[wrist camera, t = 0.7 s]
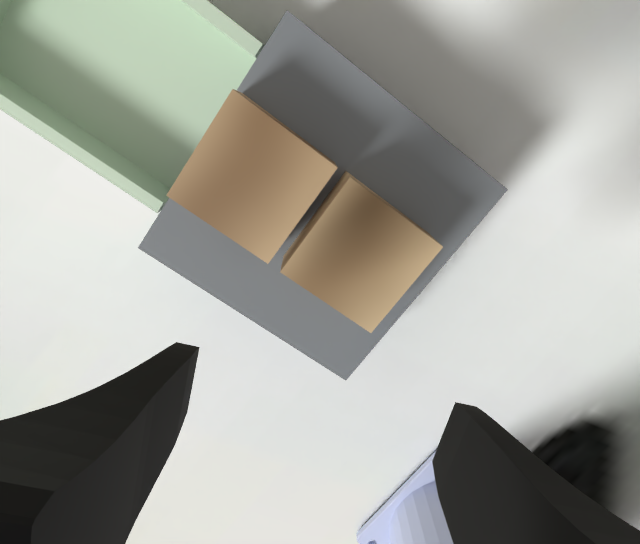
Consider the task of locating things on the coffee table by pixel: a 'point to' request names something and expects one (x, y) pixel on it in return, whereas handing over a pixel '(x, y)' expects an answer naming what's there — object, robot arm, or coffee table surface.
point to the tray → (122, 81)
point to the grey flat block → (349, 155)
